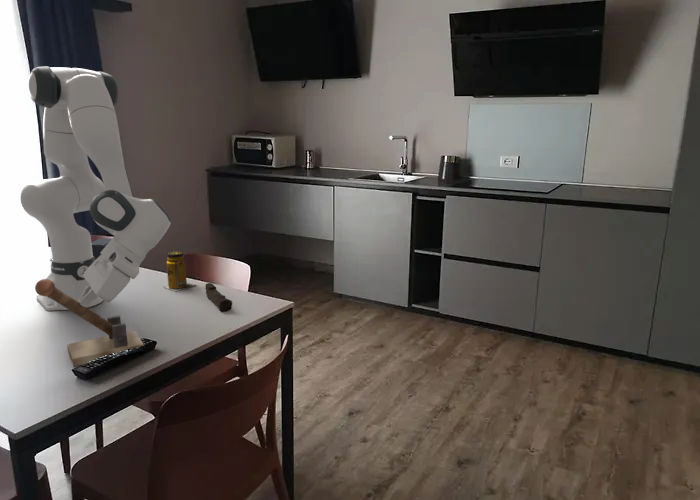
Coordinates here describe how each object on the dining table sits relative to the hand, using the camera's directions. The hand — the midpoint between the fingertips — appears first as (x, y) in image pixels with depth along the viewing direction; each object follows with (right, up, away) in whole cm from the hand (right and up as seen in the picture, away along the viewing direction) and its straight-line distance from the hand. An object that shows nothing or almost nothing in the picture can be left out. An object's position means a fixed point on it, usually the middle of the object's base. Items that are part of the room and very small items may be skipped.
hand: (81, 304), depth 132 cm
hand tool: (+22, -4, +41) cm, 47 cm away
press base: (+3, -12, +6) cm, 14 cm away
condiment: (+6, 0, +57) cm, 57 cm away
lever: (+7, -9, +7) cm, 13 cm away
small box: (-29, +6, +79) cm, 84 cm away
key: (-52, +8, +86) cm, 101 cm away
